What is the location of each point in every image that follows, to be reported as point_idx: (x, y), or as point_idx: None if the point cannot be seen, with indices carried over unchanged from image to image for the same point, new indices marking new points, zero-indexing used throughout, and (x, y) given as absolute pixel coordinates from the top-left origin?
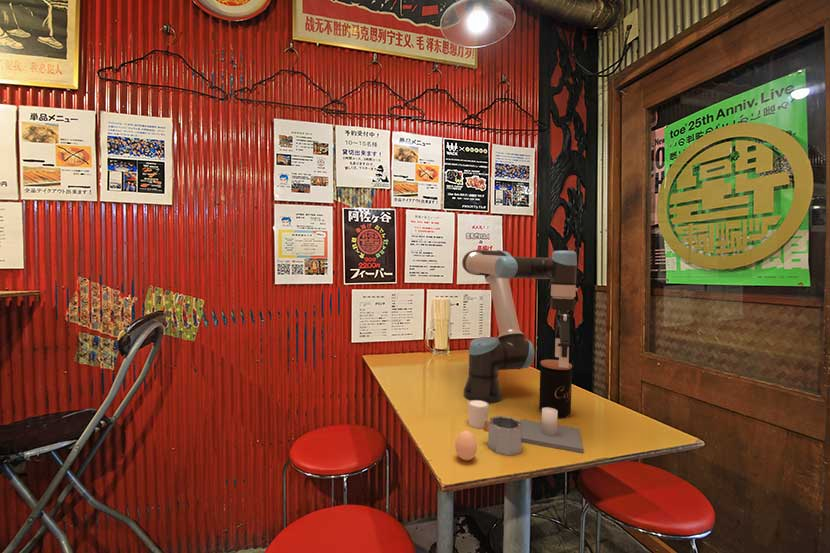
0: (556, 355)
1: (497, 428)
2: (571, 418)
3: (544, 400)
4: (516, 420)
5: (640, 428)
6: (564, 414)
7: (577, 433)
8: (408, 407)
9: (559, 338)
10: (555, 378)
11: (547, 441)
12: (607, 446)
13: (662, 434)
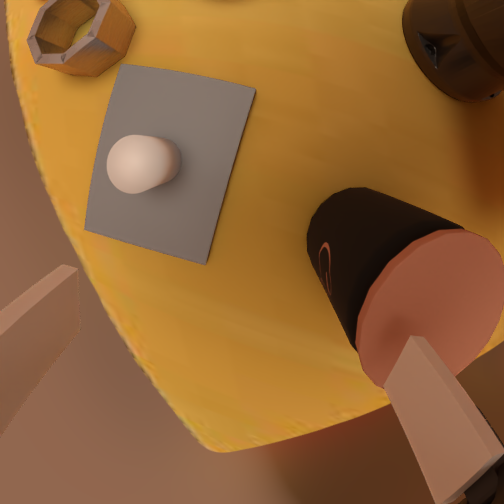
0: (411, 352)
1: (39, 10)
2: (310, 274)
3: (345, 200)
4: (78, 47)
5: (257, 407)
6: (309, 256)
7: (169, 247)
8: None
9: (475, 479)
10: (348, 271)
11: (104, 143)
12: (138, 300)
13: (232, 426)
